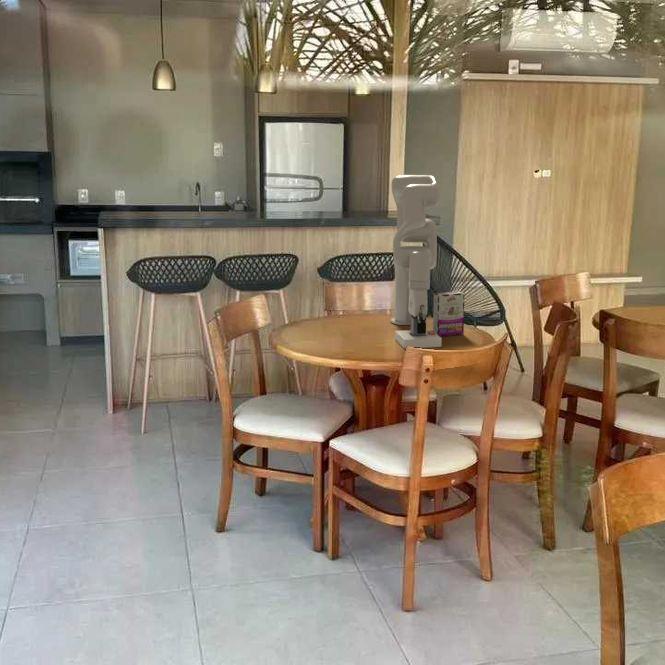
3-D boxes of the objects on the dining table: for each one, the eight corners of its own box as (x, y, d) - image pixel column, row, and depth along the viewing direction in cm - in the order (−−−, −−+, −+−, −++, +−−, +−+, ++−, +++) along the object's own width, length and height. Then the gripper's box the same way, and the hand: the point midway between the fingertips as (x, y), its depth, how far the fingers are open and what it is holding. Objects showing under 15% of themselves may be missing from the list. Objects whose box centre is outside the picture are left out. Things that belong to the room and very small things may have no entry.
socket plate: (395, 339, 290) (395, 328, 289) (430, 337, 292) (431, 327, 291) (403, 348, 277) (404, 337, 276) (441, 346, 279) (441, 336, 278)
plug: (410, 340, 286) (411, 311, 284) (422, 339, 287) (422, 310, 284) (413, 342, 282) (413, 313, 280) (425, 342, 283) (425, 313, 280)
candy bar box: (458, 332, 301) (459, 290, 297) (463, 334, 297) (465, 293, 293) (432, 333, 298) (433, 292, 294) (437, 336, 294) (438, 294, 290)
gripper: (403, 281, 287) (402, 325, 291) (415, 289, 271) (414, 336, 275) (422, 280, 288) (421, 324, 292) (435, 288, 272) (434, 335, 276)
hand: (418, 330), depth 283 cm, fingers open, 9 cm apart
